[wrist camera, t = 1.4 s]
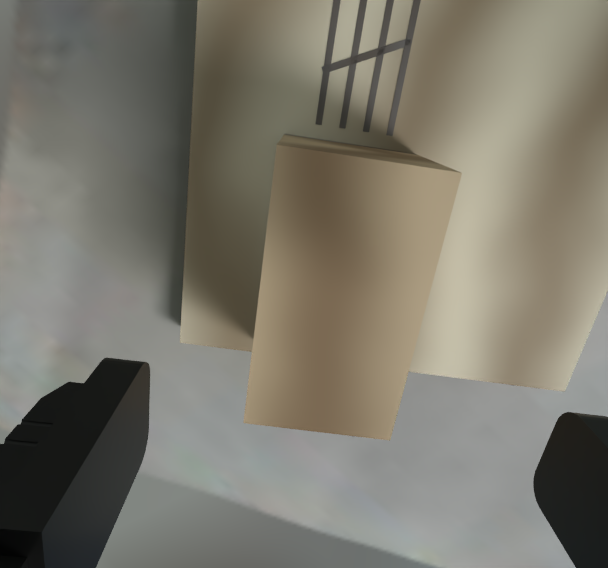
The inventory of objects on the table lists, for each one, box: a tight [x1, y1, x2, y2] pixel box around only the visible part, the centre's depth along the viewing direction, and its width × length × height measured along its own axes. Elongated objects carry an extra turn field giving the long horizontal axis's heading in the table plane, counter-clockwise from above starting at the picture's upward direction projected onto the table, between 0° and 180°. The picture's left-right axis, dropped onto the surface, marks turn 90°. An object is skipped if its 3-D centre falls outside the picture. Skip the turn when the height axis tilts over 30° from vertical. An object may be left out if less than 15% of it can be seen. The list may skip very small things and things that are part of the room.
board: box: [180, 0, 608, 392], centre depth 17 cm, size 18×23×1 cm
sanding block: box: [244, 134, 462, 440], centre depth 16 cm, size 5×9×6 cm, turn 172°
